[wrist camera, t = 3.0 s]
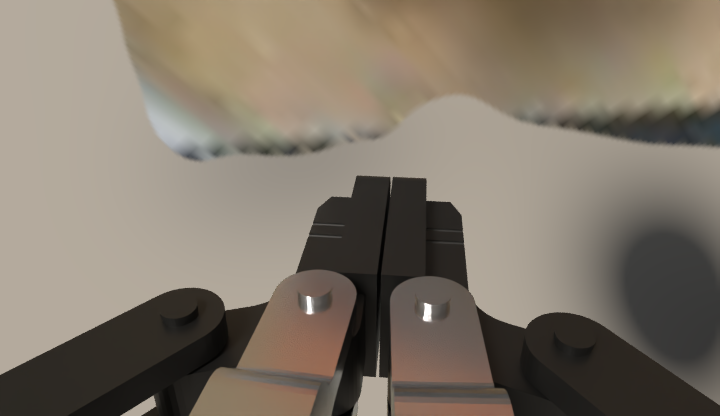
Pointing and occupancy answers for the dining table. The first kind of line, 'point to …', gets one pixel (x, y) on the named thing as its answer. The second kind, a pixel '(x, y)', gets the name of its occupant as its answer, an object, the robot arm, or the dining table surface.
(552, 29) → the dining table surface
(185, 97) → the dining table surface
